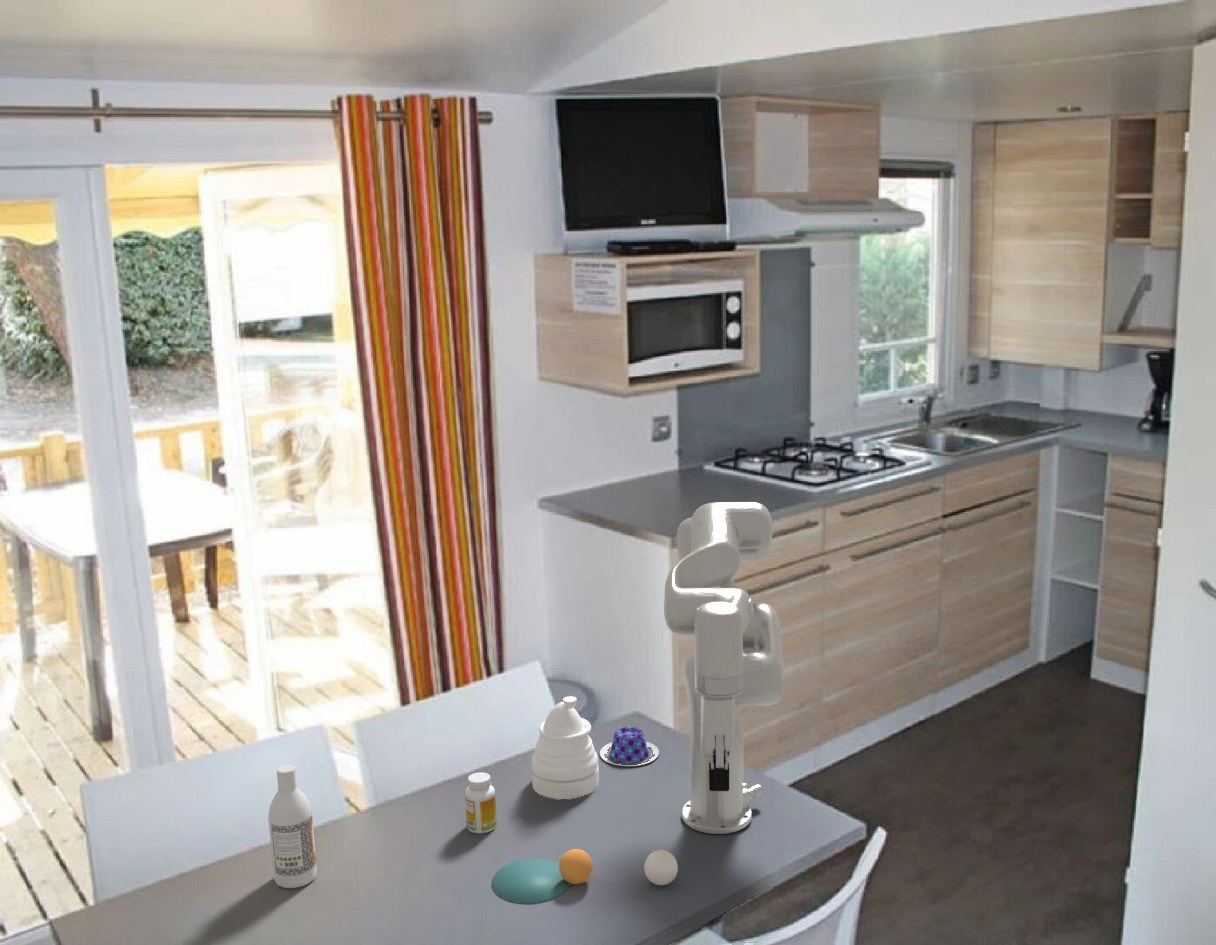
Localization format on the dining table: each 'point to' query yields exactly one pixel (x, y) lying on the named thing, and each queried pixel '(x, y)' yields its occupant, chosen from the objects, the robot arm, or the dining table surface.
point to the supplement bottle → (480, 804)
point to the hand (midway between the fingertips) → (719, 787)
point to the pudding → (629, 747)
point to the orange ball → (575, 866)
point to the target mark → (529, 881)
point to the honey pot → (564, 755)
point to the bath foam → (291, 833)
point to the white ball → (661, 867)
